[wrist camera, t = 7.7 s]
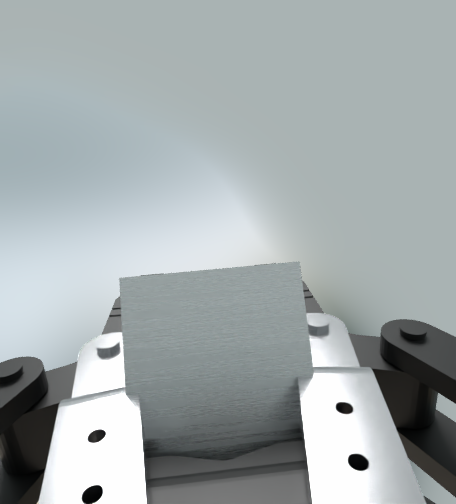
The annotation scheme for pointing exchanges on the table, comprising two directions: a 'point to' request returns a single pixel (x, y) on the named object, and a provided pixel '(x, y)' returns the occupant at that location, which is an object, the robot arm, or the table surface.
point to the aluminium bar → (216, 358)
